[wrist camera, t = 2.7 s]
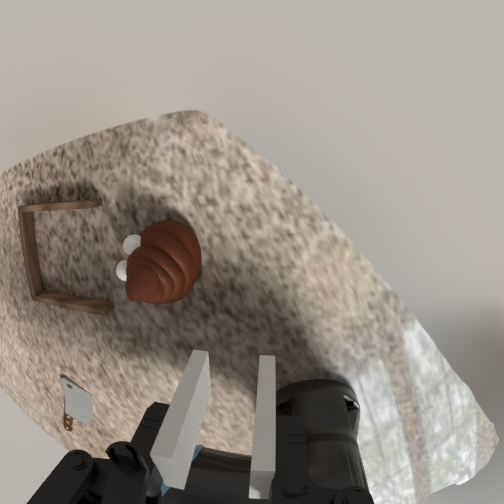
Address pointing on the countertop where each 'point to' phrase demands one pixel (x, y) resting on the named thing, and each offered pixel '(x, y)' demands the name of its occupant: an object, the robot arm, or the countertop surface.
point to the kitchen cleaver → (76, 404)
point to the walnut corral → (33, 262)
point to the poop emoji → (160, 263)
